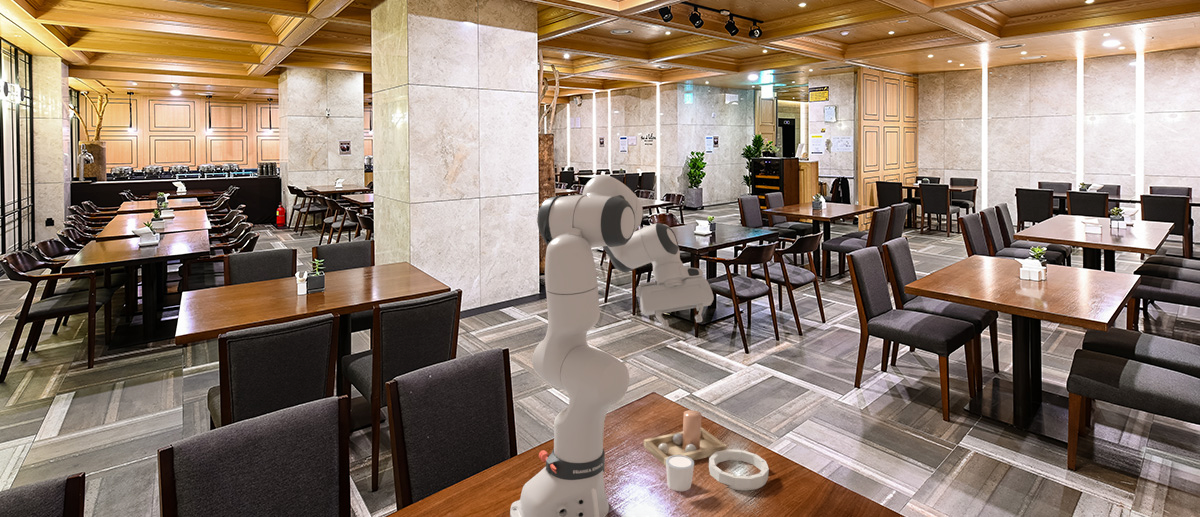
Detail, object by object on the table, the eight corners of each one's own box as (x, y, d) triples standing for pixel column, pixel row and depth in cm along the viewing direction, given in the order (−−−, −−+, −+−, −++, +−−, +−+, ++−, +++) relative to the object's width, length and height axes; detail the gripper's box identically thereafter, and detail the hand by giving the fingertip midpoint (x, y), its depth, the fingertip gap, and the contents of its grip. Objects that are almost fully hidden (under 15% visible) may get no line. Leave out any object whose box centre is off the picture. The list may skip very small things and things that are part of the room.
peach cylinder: (688, 453, 165) (690, 418, 163) (678, 445, 169) (680, 411, 168) (703, 450, 167) (705, 415, 165) (693, 442, 171) (695, 408, 170)
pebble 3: (700, 453, 164) (691, 459, 163) (693, 448, 167) (685, 454, 166) (696, 444, 163) (688, 450, 162) (690, 439, 166) (681, 446, 165)
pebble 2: (686, 443, 170) (677, 448, 169) (681, 439, 172) (672, 443, 171) (684, 434, 169) (675, 439, 168) (678, 429, 172) (669, 434, 171)
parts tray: (666, 469, 158) (666, 459, 158) (643, 449, 169) (643, 439, 168) (726, 455, 166) (726, 445, 166) (701, 436, 177) (701, 427, 176)
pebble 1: (661, 457, 163) (661, 447, 162) (655, 452, 165) (656, 442, 165) (671, 455, 164) (671, 445, 163) (665, 450, 167) (665, 440, 166)
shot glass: (692, 497, 146) (693, 470, 145) (663, 493, 147) (664, 466, 146) (693, 482, 153) (694, 456, 151) (666, 478, 154) (667, 453, 153)
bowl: (732, 495, 147) (732, 483, 146) (698, 467, 160) (698, 456, 159) (779, 482, 153) (780, 470, 152) (742, 456, 166) (743, 445, 165)
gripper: (635, 279, 168) (646, 326, 162) (707, 268, 171) (720, 314, 165) (633, 289, 174) (644, 334, 168) (703, 278, 176) (715, 322, 170)
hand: (682, 324), depth 166 cm, fingers open, 8 cm apart
